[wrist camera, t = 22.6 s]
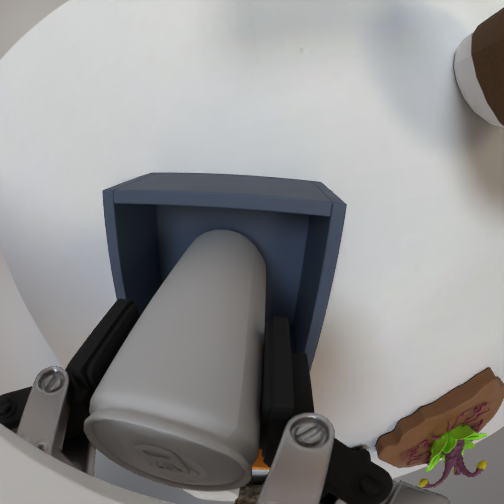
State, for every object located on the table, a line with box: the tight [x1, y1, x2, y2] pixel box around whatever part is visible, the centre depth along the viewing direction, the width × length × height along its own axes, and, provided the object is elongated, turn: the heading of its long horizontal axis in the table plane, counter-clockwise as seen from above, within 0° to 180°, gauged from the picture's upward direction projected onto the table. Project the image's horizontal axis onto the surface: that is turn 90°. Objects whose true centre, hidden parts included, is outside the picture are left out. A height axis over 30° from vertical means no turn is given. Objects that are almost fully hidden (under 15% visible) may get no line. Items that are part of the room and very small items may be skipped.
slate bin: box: [103, 173, 347, 372], centre depth 15 cm, size 10×10×6 cm
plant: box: [376, 368, 504, 488], centre depth 20 cm, size 20×20×11 cm
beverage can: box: [84, 230, 266, 492], centre depth 11 cm, size 5×5×12 cm
